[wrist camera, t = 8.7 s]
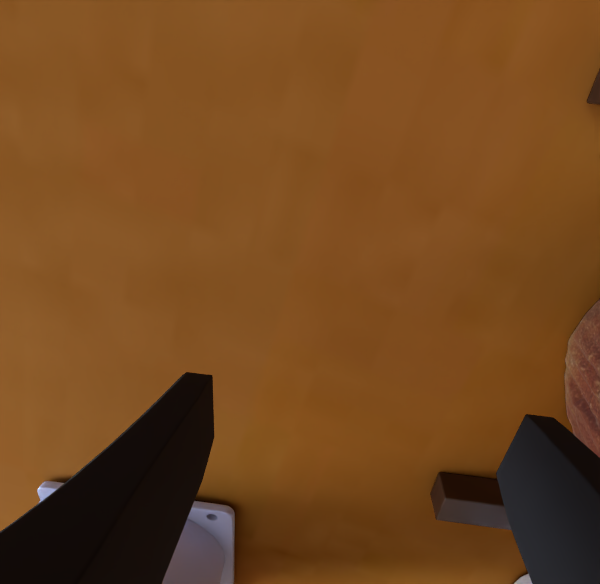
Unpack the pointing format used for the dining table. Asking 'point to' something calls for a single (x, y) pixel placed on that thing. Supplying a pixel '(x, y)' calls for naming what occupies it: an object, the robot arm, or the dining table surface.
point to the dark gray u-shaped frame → (474, 490)
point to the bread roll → (584, 380)
